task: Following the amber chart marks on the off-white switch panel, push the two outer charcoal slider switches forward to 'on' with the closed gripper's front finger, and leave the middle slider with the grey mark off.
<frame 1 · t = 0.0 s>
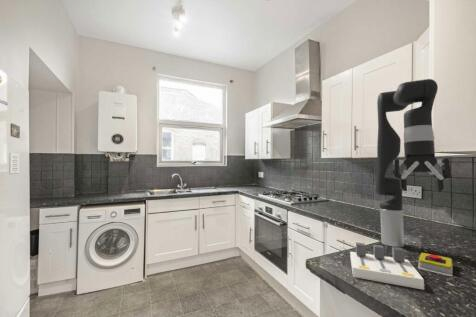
hand: (421, 191, 69), 29 cm above the worktop, fingers open, 8 cm apart
emergency button: (435, 268, 82), on the worktop
switch panel: (381, 272, 77), on the worktop
switch b: (378, 251, 82), point 6 cm above the worktop, slide at 0.0 cm
switch a: (360, 249, 84), point 6 cm above the worktop, slide at 0.0 cm
switch c: (398, 254, 79), point 6 cm above the worktop, slide at 0.0 cm
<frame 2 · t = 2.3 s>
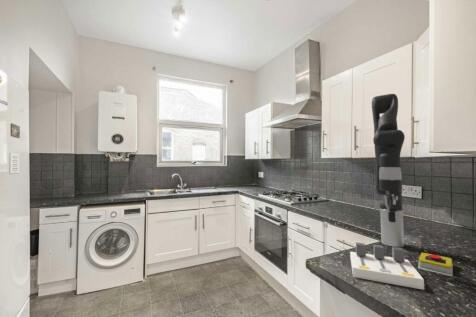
hand: (391, 221, 87), 16 cm above the worktop, fingers closed
nothing on the worktop moved.
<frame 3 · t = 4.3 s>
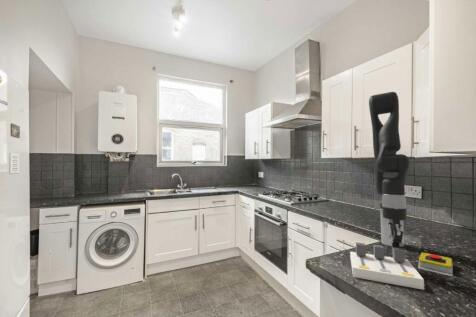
hand: (395, 252, 82), 5 cm above the worktop, fingers closed
switch c: (398, 254, 79), point 6 cm above the worktop, slide at 0.6 cm, touching gripper
everything else where it was.
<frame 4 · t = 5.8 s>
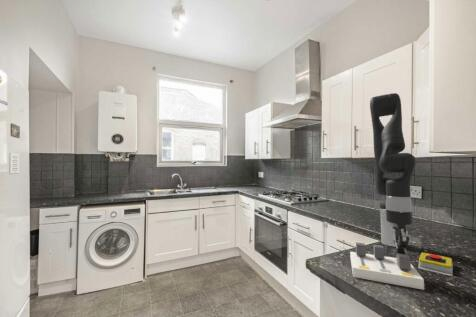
hand: (400, 259, 76), 5 cm above the worktop, fingers closed
switch c: (403, 261, 73), point 6 cm above the worktop, slide at 7.5 cm, touching gripper
everything else where it was.
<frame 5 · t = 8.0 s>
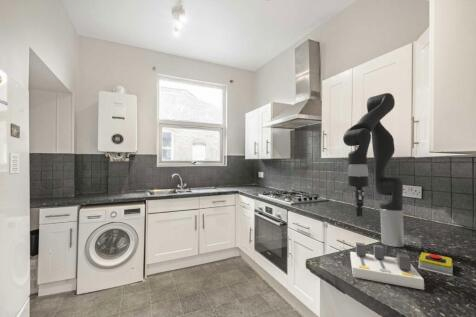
hand: (359, 216, 92), 17 cm above the worktop, fingers closed
switch c: (403, 261, 73), point 6 cm above the worktop, slide at 7.5 cm
everything else where it was.
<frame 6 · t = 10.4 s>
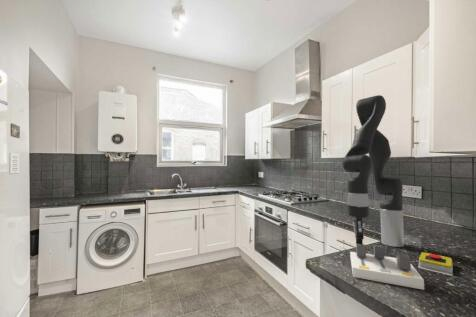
hand: (359, 248, 86), 5 cm above the worktop, fingers closed
switch a: (361, 250, 83), point 6 cm above the worktop, slide at 1.5 cm, touching gripper
everything else where it was.
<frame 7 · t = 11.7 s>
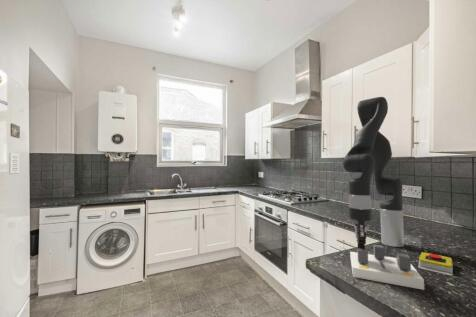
hand: (361, 253, 81), 5 cm above the worktop, fingers closed
switch a: (362, 255, 78), point 6 cm above the worktop, slide at 7.5 cm, touching gripper
everything else where it was.
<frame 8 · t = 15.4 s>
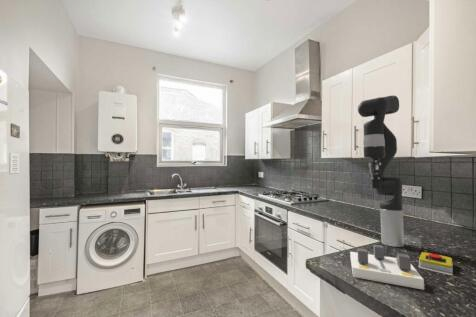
hand: (375, 188, 89), 29 cm above the worktop, fingers closed
switch a: (362, 255, 78), point 6 cm above the worktop, slide at 7.5 cm
at the end: switch a slide at 7.5 cm; switch c slide at 7.5 cm; switch b slide at 0.0 cm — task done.
